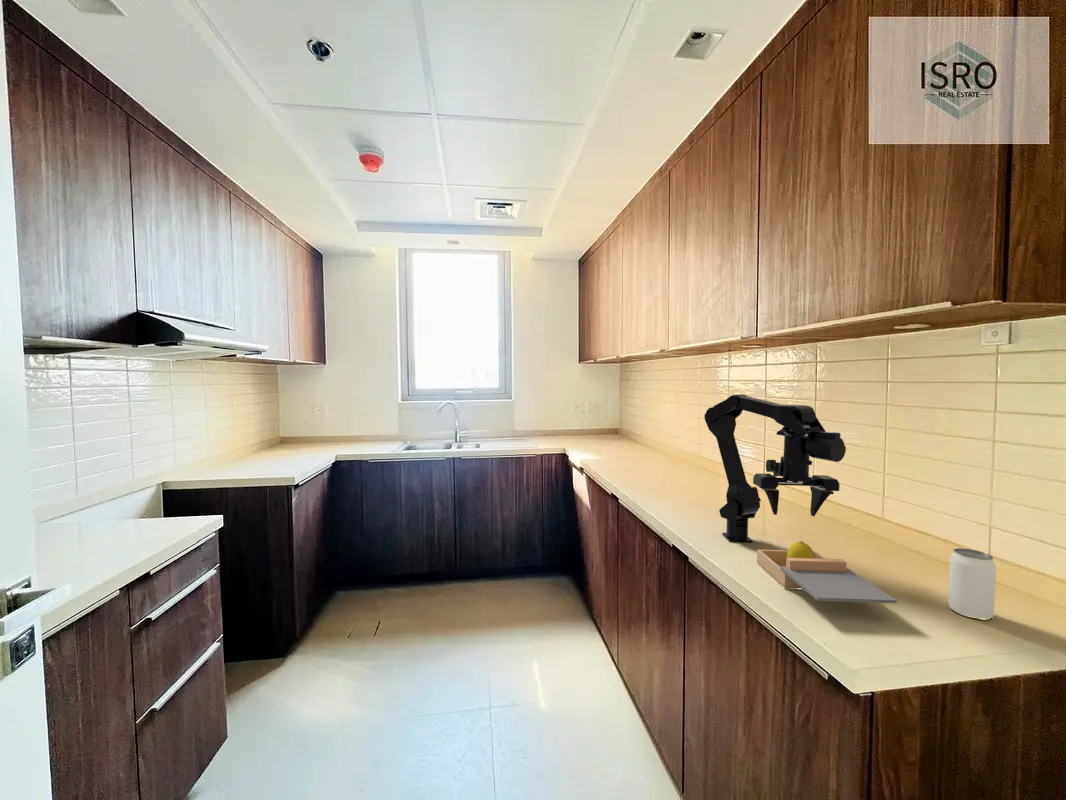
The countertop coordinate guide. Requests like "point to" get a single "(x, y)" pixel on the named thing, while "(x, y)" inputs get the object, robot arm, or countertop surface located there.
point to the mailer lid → (833, 581)
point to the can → (972, 583)
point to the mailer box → (778, 565)
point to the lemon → (800, 550)
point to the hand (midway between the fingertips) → (793, 515)
